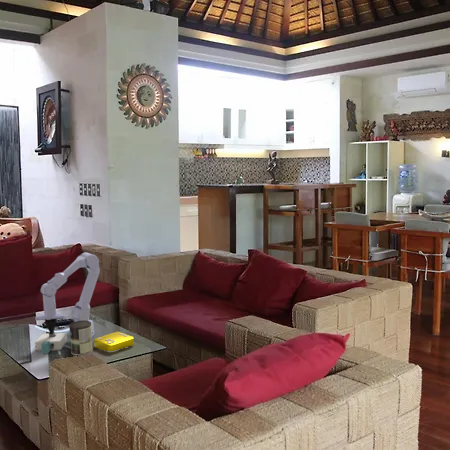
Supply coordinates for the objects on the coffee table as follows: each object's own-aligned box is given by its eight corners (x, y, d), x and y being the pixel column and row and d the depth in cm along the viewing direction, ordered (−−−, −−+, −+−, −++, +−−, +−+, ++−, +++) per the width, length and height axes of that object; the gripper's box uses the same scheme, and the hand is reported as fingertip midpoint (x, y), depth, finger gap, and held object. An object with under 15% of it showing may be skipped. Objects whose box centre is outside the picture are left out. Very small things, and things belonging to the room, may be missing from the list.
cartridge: (50, 343, 282) (50, 334, 281) (56, 343, 282) (55, 333, 281) (42, 353, 268) (41, 344, 267) (47, 353, 268) (47, 343, 267)
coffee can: (69, 356, 264) (67, 327, 262) (73, 348, 274) (71, 321, 272) (91, 355, 265) (89, 326, 263) (94, 347, 275) (92, 319, 273)
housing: (43, 342, 284) (42, 333, 284) (67, 341, 285) (66, 332, 284) (35, 350, 273) (35, 342, 272) (60, 350, 273) (59, 341, 272)
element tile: (135, 345, 276) (135, 336, 275) (110, 354, 265) (109, 344, 265) (118, 339, 286) (117, 330, 286) (92, 347, 276) (92, 338, 275)
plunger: (56, 336, 282) (55, 332, 281) (54, 338, 279) (54, 334, 278) (50, 336, 282) (49, 332, 281) (48, 338, 279) (48, 334, 278)
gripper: (32, 310, 274) (34, 336, 276) (62, 309, 274) (64, 335, 276) (37, 306, 281) (39, 332, 283) (66, 305, 281) (68, 330, 283)
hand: (52, 333), depth 280 cm, fingers closed, pressing on plunger
